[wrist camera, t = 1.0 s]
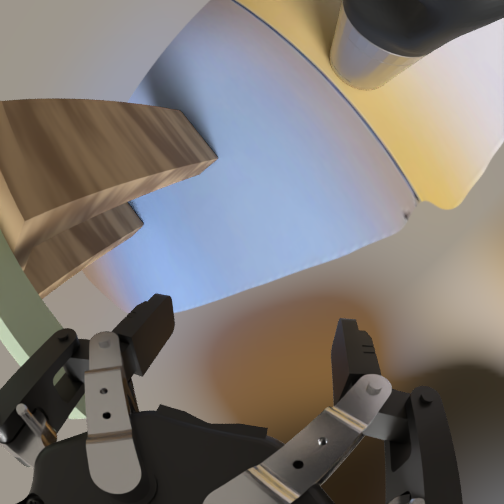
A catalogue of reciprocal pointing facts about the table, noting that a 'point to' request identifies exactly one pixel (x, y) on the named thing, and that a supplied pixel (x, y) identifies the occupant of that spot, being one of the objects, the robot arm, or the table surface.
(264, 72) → the table surface
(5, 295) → the pale green bar
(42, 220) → the oak bridge
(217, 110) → the table surface
